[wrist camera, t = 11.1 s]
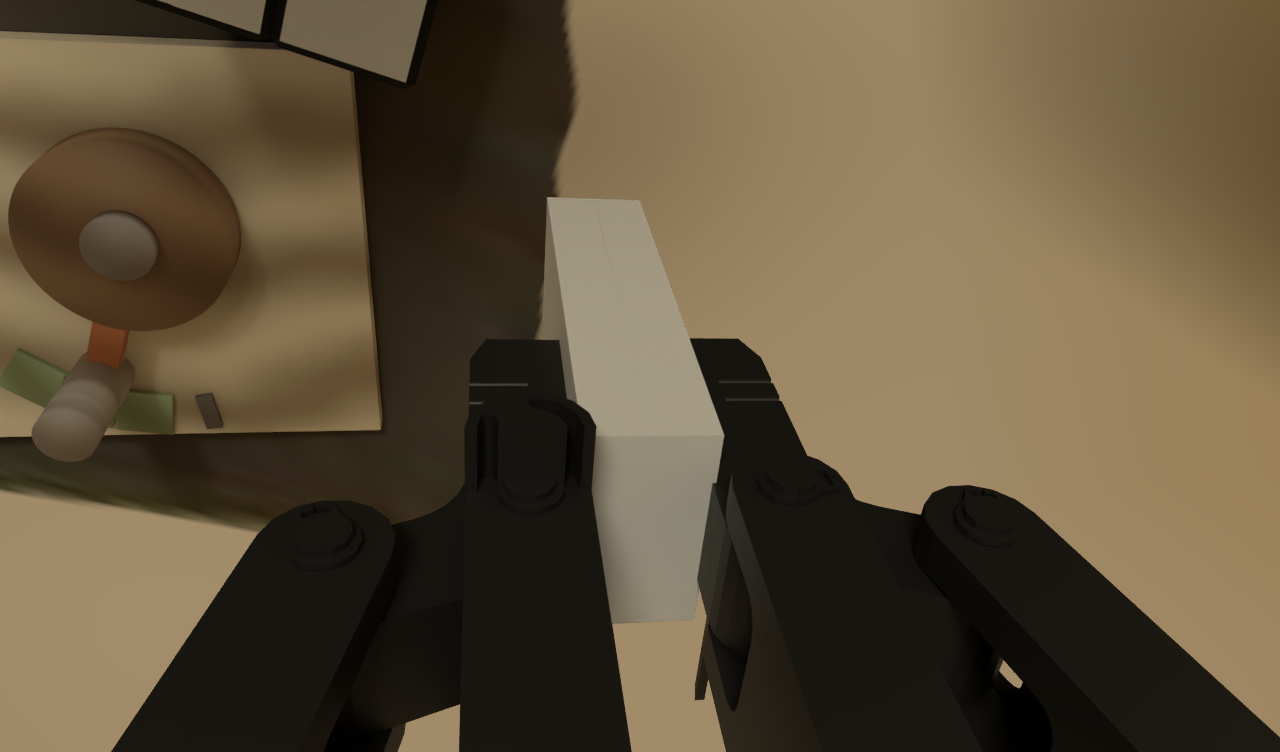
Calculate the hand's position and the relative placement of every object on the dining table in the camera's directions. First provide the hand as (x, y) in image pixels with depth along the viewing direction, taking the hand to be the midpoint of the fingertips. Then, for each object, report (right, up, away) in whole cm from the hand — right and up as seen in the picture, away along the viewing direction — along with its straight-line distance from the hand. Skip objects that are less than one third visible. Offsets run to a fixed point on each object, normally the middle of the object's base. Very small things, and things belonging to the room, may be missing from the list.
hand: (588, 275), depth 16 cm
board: (-24, +4, +30) cm, 38 cm away
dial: (-23, +3, +29) cm, 37 cm away
